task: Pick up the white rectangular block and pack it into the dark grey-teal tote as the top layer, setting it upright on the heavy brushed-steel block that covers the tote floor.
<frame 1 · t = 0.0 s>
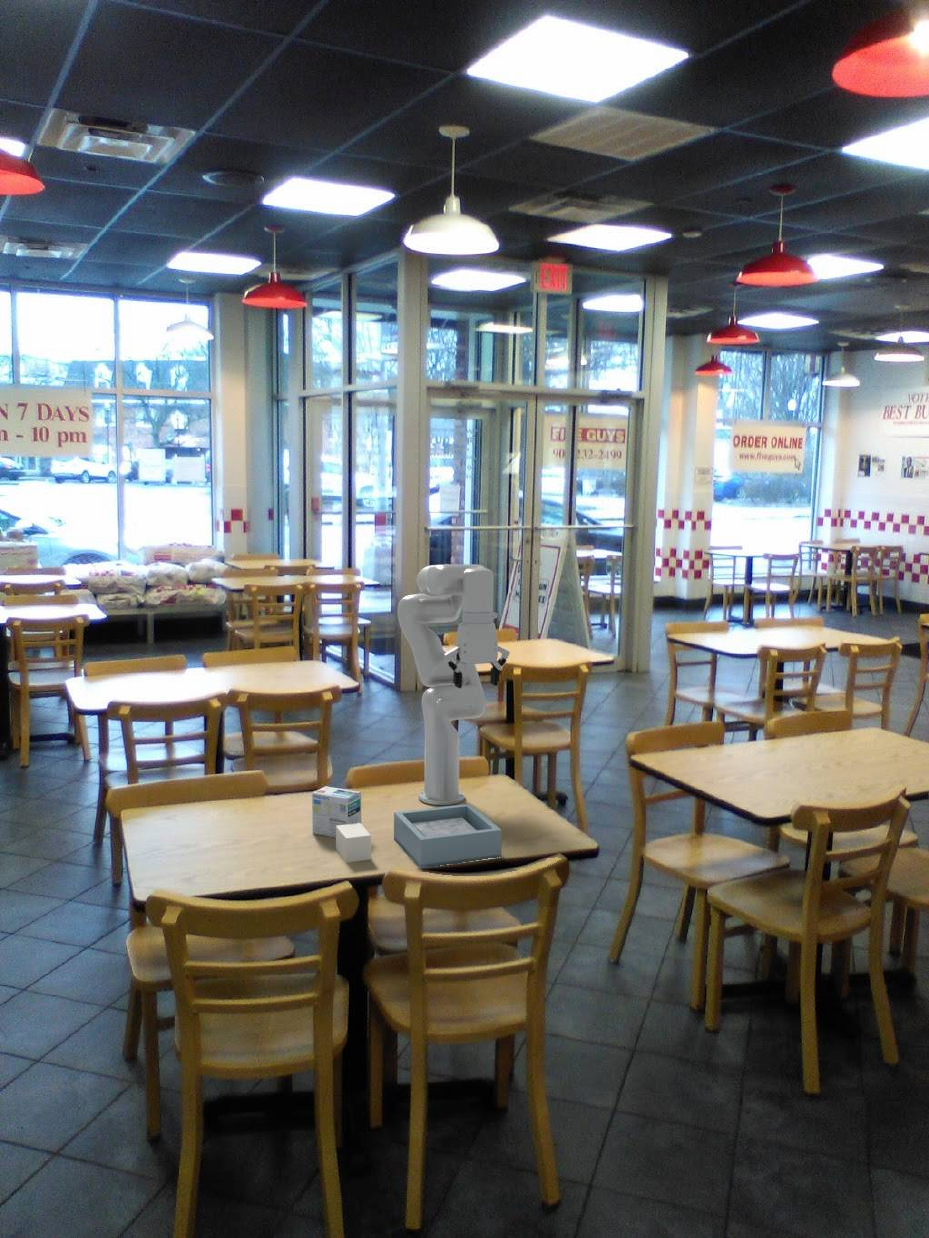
hand: (476, 685, 268), 37 cm above the table, tool pointing down, fingers open, 9 cm apart
white rectangular block: (353, 854, 254), on the table
light bulb box: (337, 833, 267), on the table
tote: (446, 848, 258), on the table
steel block: (446, 844, 258), point 1 cm above the table, touching tote
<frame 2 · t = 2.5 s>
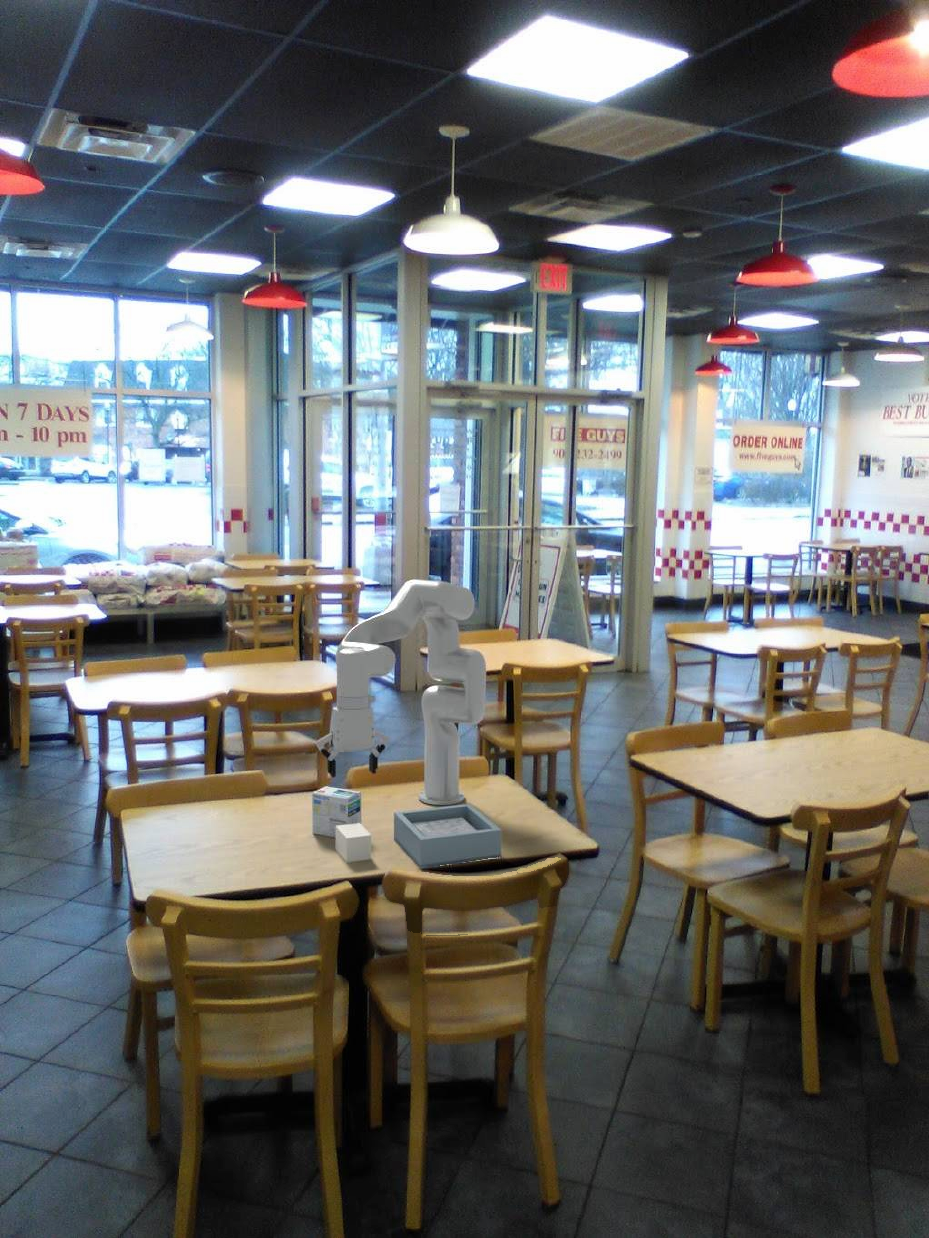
hand: (352, 773, 250), 20 cm above the table, tool pointing down, fingers open, 9 cm apart
nothing on the table moved.
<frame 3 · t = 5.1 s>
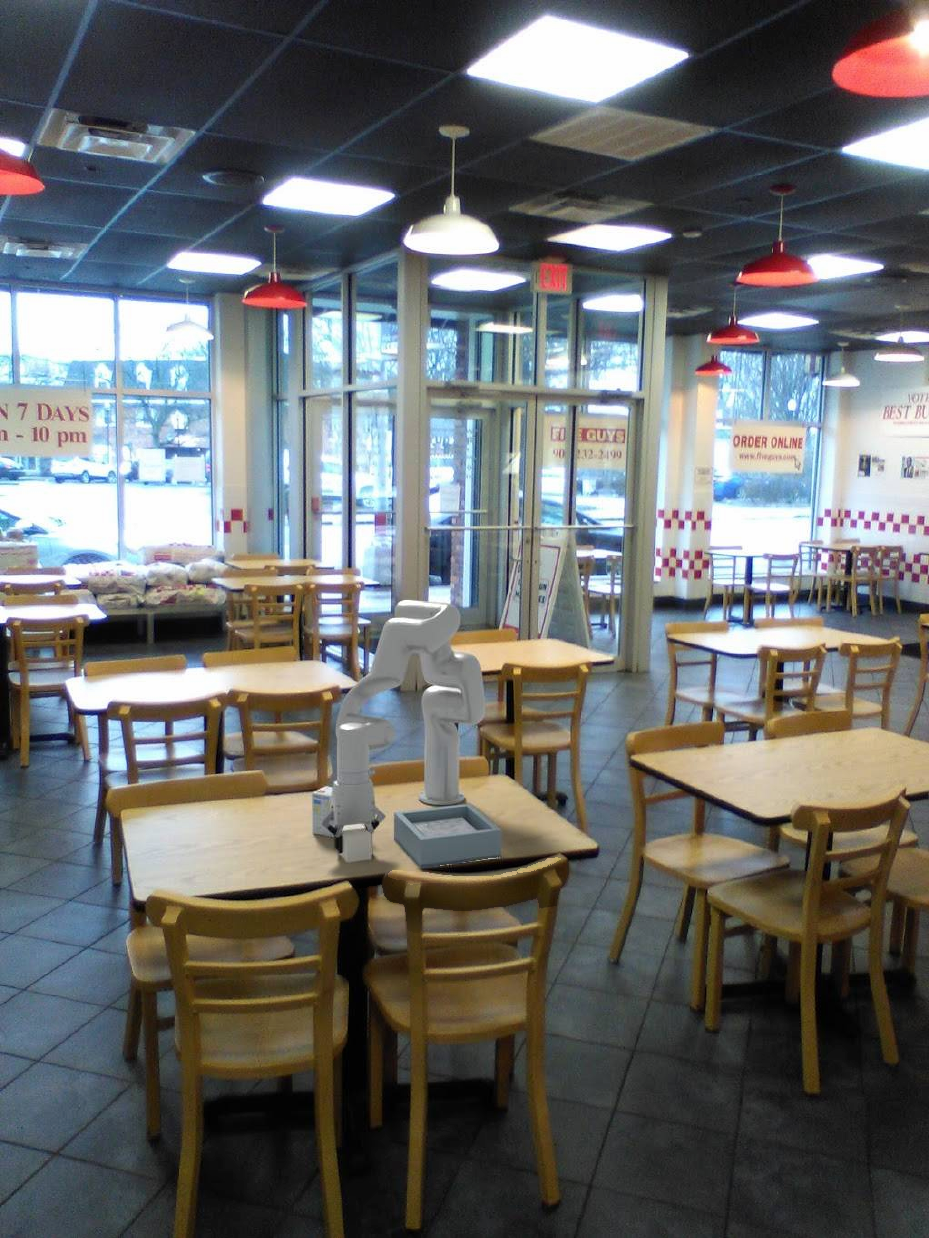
hand: (353, 849, 253), 1 cm above the table, tool pointing down, fingers closed on white rectangular block, 6 cm apart
white rectangular block: (353, 854, 254), on the table, touching gripper
everything else where it was.
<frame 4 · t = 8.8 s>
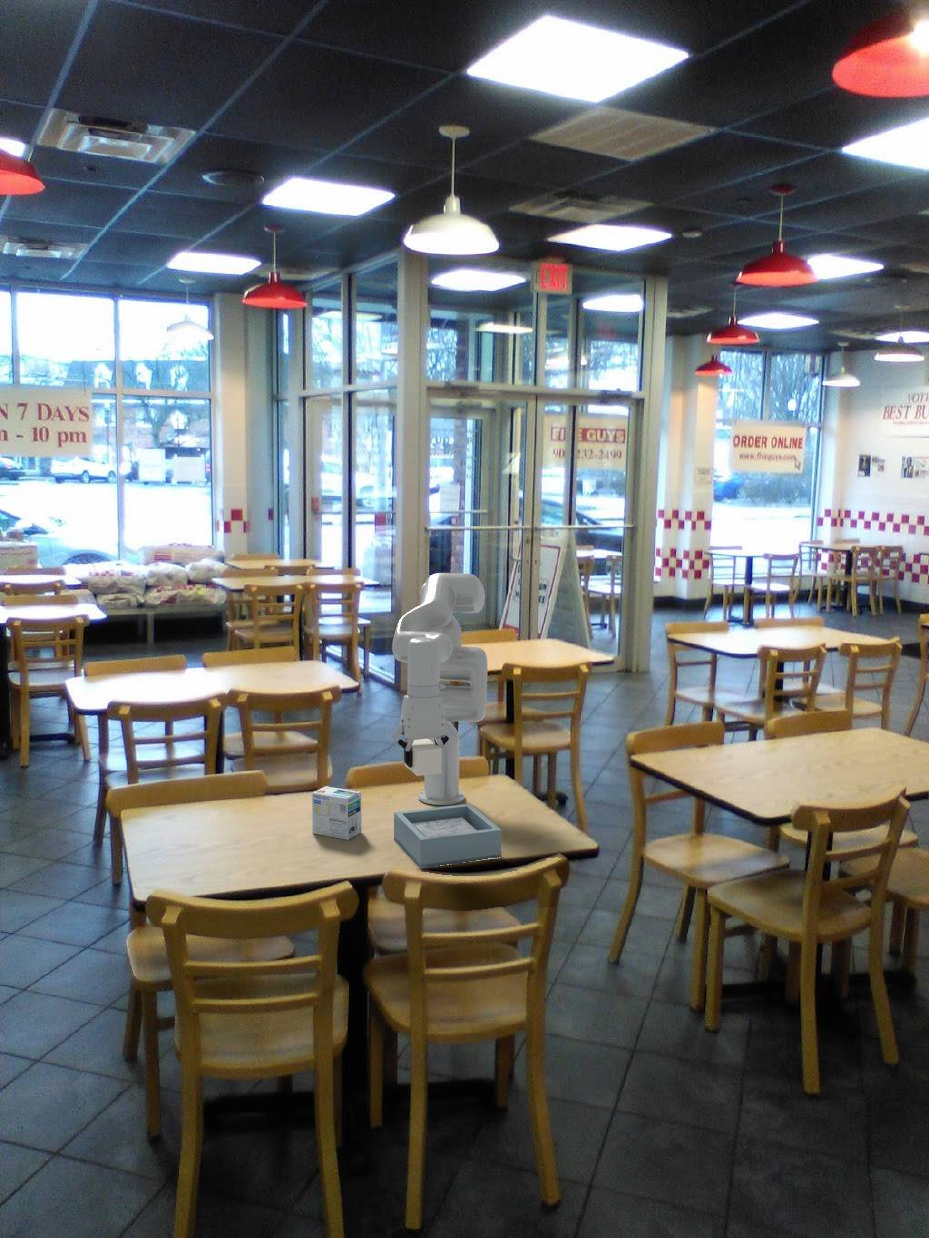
hand: (422, 764, 254), 21 cm above the table, tool pointing down, fingers closed on white rectangular block, 6 cm apart
white rectangular block: (422, 769, 254), point 20 cm above the table, touching gripper
everything else where it was.
when the fingers open (8 cm above the table, at t = 12.8 s): white rectangular block drops 1 cm, resting on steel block.
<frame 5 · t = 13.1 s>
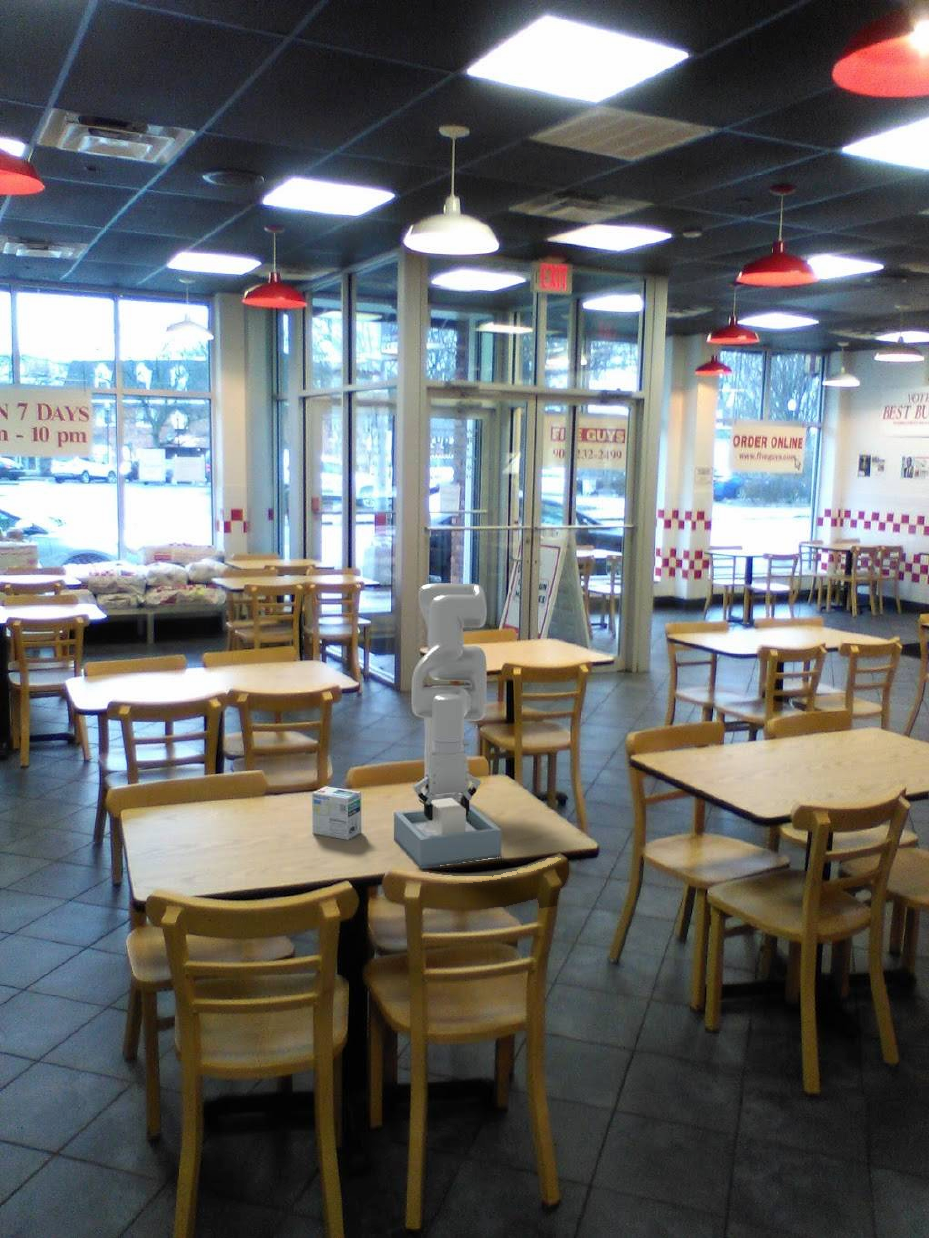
hand: (446, 816, 257), 8 cm above the table, tool pointing down, fingers open, 8 cm apart
white rectangular block: (446, 828, 257), point 5 cm above the table, touching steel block
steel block: (446, 844, 258), point 1 cm above the table, touching white rectangular block, tote
everything else where it was.
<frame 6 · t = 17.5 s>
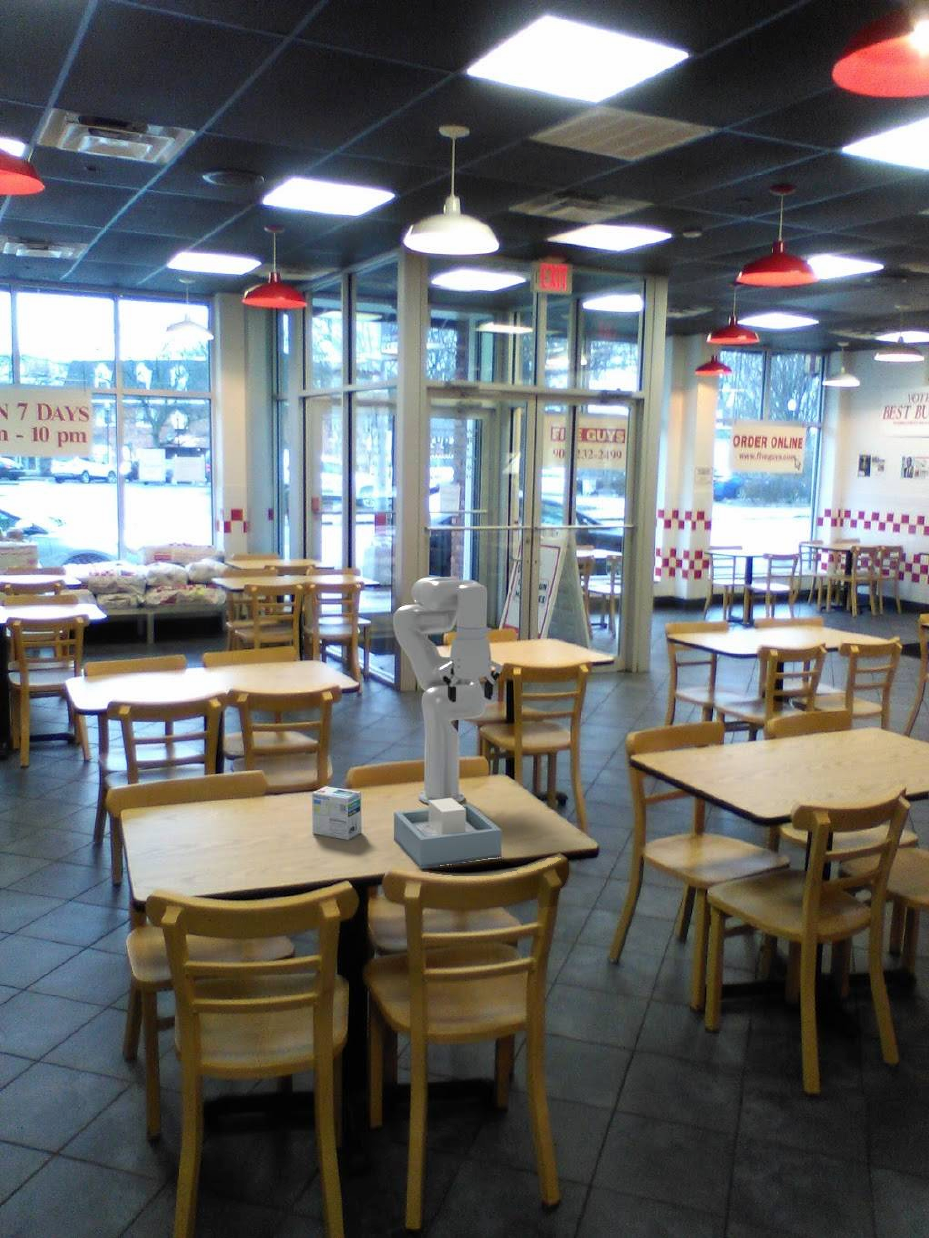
hand: (470, 699, 272), 32 cm above the table, tool pointing down, fingers open, 9 cm apart
nothing on the table moved.
at the end: white rectangular block inside the target area on the tote (0.1 cm from its centre), point 5.0 cm above the tote's base; white rectangular block tilted 0°; white rectangular block touching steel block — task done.
